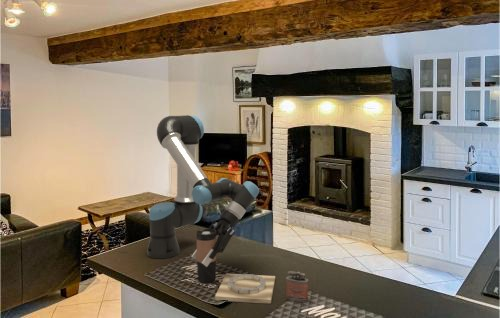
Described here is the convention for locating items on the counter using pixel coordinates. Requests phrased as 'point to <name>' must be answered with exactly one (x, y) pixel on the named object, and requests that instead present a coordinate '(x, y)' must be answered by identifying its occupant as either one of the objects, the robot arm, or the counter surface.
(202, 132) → the robot arm
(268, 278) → the dock board
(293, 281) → the lighter
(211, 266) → the travel mug
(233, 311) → the counter surface
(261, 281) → the dock collar
